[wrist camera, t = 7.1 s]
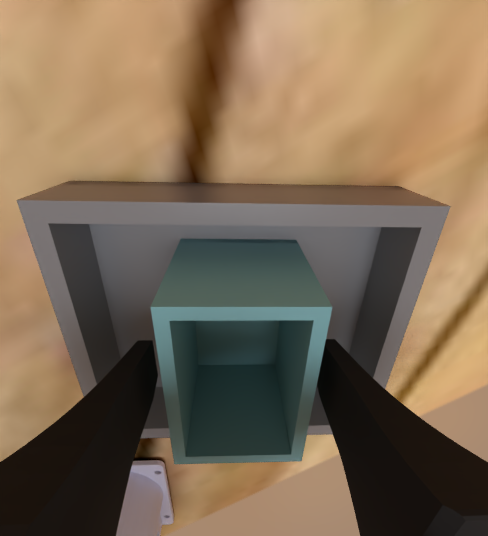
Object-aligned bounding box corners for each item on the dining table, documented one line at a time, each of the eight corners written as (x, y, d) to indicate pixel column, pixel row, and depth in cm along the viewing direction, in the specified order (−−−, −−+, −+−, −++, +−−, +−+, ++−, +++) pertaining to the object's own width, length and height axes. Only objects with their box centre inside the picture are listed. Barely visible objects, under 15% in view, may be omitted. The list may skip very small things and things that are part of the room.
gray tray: (346, 382, 19) (368, 433, 16) (120, 385, 19) (98, 439, 15) (399, 186, 13) (450, 206, 10) (69, 180, 13) (16, 200, 10)
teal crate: (281, 364, 17) (301, 461, 12) (191, 364, 17) (174, 463, 12) (296, 239, 13) (332, 306, 9) (180, 238, 13) (150, 307, 8)
